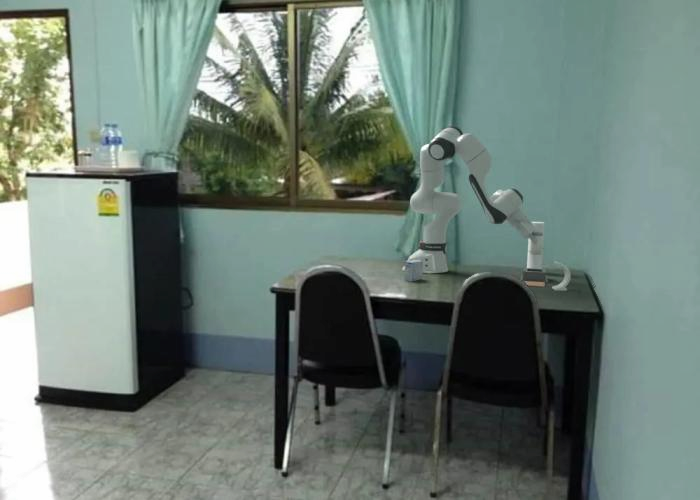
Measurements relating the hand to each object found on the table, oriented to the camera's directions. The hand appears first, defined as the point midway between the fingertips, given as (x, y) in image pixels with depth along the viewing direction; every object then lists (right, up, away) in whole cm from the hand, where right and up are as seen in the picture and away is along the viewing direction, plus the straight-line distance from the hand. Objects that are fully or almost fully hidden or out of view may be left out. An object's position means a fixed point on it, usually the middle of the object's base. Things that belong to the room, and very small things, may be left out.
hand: (537, 241), depth 284 cm
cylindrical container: (+4, -15, +20) cm, 25 cm away
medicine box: (-58, -18, -2) cm, 60 cm away
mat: (-5, -19, -10) cm, 22 cm away
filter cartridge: (-1, -6, +1) cm, 6 cm away
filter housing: (-1, -18, +2) cm, 18 cm away
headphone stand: (+4, -21, -19) cm, 29 cm away
